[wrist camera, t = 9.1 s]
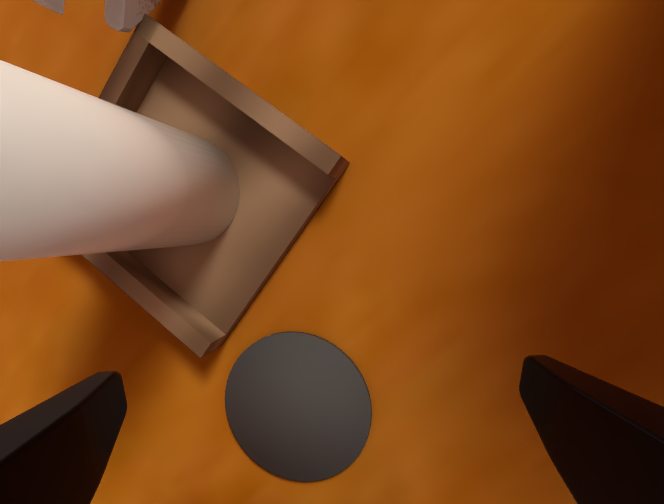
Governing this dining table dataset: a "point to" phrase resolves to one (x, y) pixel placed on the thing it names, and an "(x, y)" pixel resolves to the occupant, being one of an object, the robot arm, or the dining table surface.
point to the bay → (254, 185)
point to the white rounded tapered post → (101, 175)
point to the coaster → (298, 406)
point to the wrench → (114, 11)
